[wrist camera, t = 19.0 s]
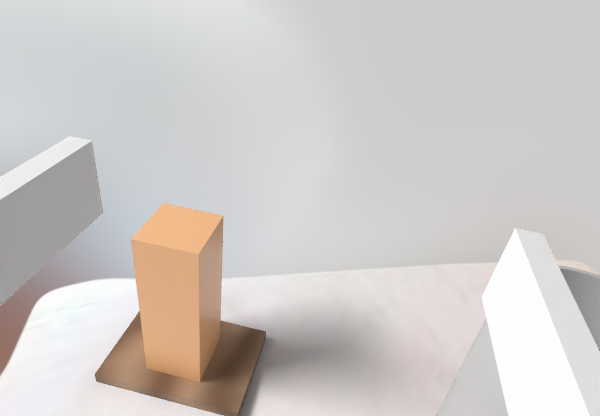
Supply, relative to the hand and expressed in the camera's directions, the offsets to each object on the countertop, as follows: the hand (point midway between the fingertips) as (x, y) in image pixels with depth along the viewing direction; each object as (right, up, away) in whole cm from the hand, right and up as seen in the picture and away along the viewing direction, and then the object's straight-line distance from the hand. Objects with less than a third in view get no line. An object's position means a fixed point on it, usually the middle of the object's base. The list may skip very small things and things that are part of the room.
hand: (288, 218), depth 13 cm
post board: (-13, -17, +37) cm, 43 cm away
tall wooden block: (-13, -16, +36) cm, 42 cm away
